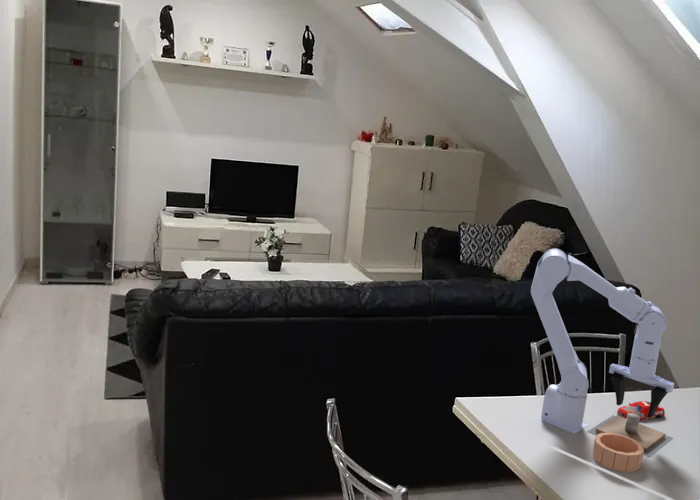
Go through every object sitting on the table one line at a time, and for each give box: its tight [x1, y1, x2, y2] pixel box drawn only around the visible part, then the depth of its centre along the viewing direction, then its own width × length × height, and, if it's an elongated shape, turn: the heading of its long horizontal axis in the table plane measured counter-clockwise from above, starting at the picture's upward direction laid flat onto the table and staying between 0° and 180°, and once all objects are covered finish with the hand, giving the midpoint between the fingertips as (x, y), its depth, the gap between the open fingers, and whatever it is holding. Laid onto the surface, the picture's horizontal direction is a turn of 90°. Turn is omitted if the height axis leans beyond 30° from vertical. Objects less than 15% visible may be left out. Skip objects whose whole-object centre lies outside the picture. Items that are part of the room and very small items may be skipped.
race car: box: [616, 400, 666, 421], centre depth 174 cm, size 13×5×4 cm, turn 108°
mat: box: [586, 415, 674, 458], centre depth 163 cm, size 15×15×1 cm
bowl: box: [591, 432, 644, 473], centre depth 150 cm, size 10×10×4 cm
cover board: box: [596, 413, 666, 453], centre depth 162 cm, size 12×12×5 cm
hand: (635, 409), depth 161 cm, fingers open, 7 cm apart
